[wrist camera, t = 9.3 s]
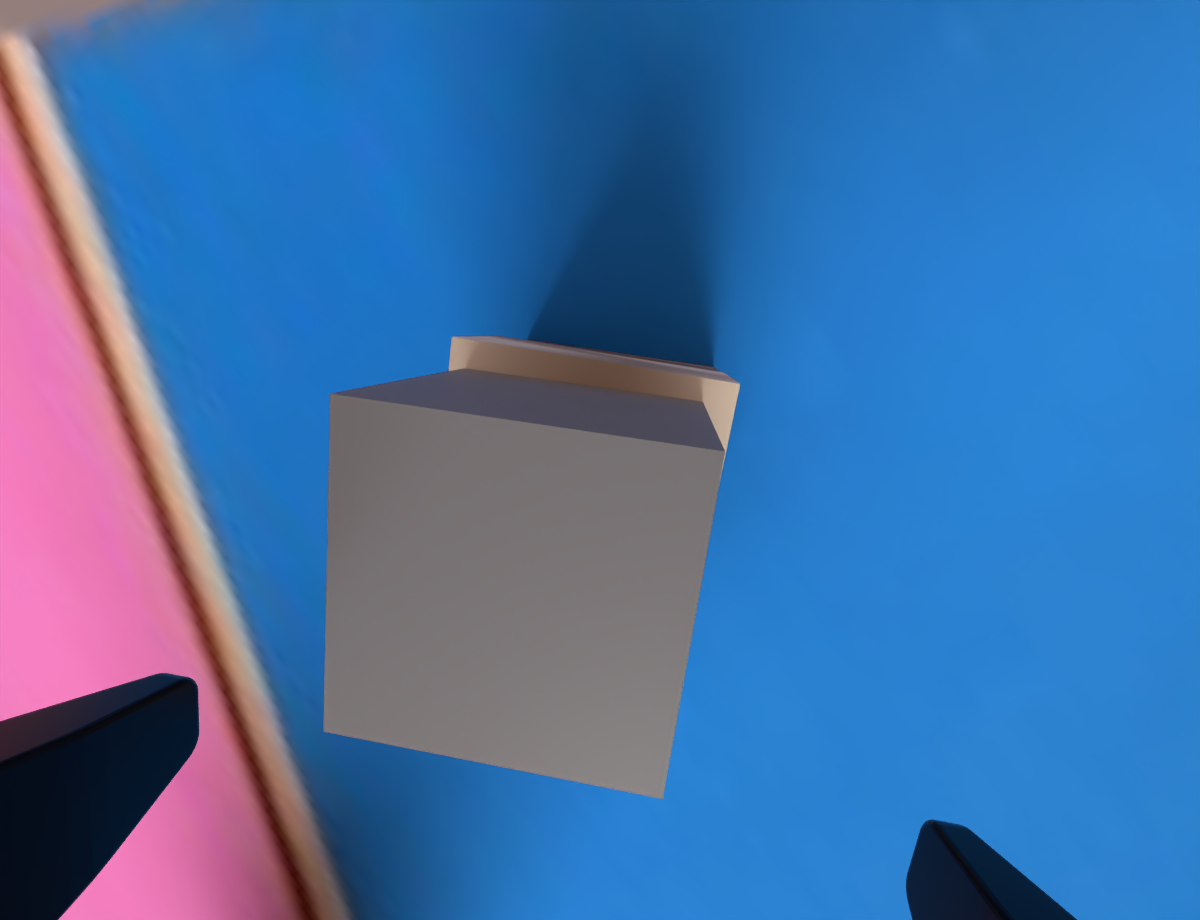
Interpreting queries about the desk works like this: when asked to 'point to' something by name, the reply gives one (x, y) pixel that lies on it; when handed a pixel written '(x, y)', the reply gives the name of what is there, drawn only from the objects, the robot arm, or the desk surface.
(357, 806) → the desk surface
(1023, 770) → the desk surface
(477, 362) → the tower top
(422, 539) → the cube
